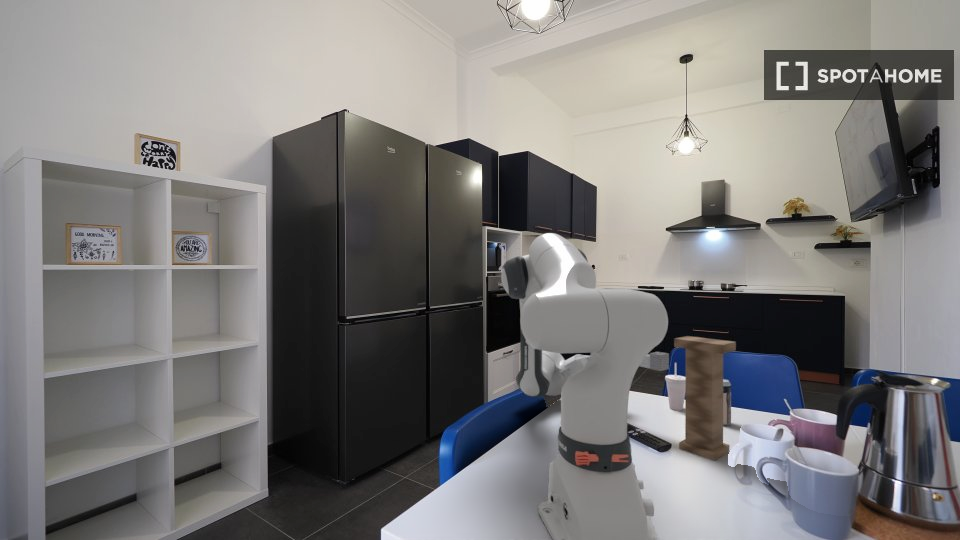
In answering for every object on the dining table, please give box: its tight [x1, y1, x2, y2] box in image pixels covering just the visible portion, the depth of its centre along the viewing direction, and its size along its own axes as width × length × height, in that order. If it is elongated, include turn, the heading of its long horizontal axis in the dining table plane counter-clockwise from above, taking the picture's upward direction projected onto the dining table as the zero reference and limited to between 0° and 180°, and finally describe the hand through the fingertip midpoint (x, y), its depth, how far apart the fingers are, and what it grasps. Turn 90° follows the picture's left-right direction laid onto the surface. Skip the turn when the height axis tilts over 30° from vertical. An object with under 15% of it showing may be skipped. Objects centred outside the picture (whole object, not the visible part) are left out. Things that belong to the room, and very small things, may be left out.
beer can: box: [723, 378, 732, 426], centre depth 115 cm, size 5×5×12 cm
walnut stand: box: [673, 335, 737, 462], centre depth 97 cm, size 11×8×26 cm
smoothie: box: [664, 362, 686, 412], centre depth 127 cm, size 6×6×14 cm
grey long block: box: [639, 351, 670, 372], centre depth 112 cm, size 18×4×4 cm, turn 39°
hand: (614, 353), depth 116 cm, fingers closed on grey long block, 3 cm apart
